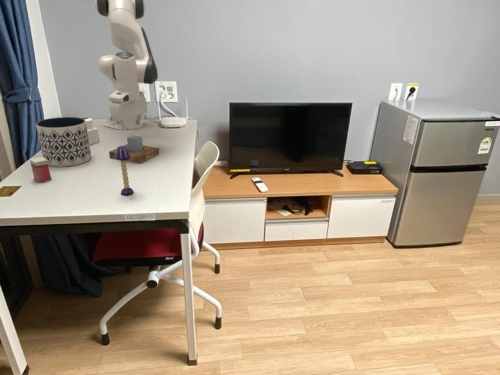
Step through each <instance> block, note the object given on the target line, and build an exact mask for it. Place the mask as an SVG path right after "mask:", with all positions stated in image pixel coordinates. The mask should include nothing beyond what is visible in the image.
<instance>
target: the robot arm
mask: <svg viewBox="0 0 500 375" xmlns="http://www.w3.org/2000/svg"><path fill="white" fill-rule="evenodd" d="M94 6H95V8H96V11H97V13H98V14H99V15H100V16H102V17H106V18H108V20H109V21H108V22H109V27H110V29H109V30H110V40H111V42H110V43H111V44H112V45H113V46H114V47H115V48H116V49H118V50H120V51H119V52H117V53H115V54H108V55H104V56H100V58H99V60H98V63H97V64H98V69H99V72H100V73H101V74H102V75H103V76H105V77H106V78H108V79H109V80H110V81H111V83H112V85H113V86H114V89H115V91H114V92H112V93H111V94H110V95H109V96H108V101H109V102H110V103H109V113H108V114H107V117H106V118H107V119H106V122H104V123H103V126H102V127H105V128H106V127H107V128H111V129H115V130H118V131H125V130H136V129H139V128H140V129H141V128H143V127H144V124H143V122H142V118H143V114H144V113H145V114H146V113H147V112H148V104H147V103H148V102H147V98H146V97H145V93H144V92H143V91H140V86H139V84H148V85H152V84H154V83H156V81H157V80H158V78H159V70H158V67H157V64H156V61H155V59H154V56H153V52H152V49H151V47H150V42H149V39H148V36H147V34H146V31H145V29H144V28H143V27H142V26H141V25H140V24H139V23H138V22H137V20H139V19H142V18H143V17H144V16H145V12H146V4H145V1H144V0H94ZM135 44H136V45H137V46H139V48H140V52H141V53H140V52H139V51H138V49H137V47H136V45H135Z"/></svg>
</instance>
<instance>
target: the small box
mask: <svg viewBox="0 0 500 375" xmlns="http://www.w3.org/2000/svg"><path fill="white" fill-rule="evenodd" d="M29 161H30V165H31V170H32V175H33V179H34V180H36V181H37V182H38V183H44V182H47V181H51V180H52V176H51V171H50V165H48V161H47V160H46V159H45V158H43V156H39V157H36V158H30V159H29Z"/></svg>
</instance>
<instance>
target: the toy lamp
mask: <svg viewBox="0 0 500 375" xmlns="http://www.w3.org/2000/svg"><path fill="white" fill-rule="evenodd" d="M116 149H117V151H116V159H115V160H117V161H120V166H121V175H122V181H123V188H122V189H121V191H120V195H122V196H124V197H126V196H131V195H133V194H134V193H135V192H134V189H133V188H131V187H130V184H129V183H130V181H129V175H128V173H129V172H128V168H127V161H126V160H128V159H130V154H129V152H128V149H127V147H126V146H124V145H119V146H117V147H116Z"/></svg>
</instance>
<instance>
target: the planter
mask: <svg viewBox="0 0 500 375" xmlns="http://www.w3.org/2000/svg"><path fill="white" fill-rule="evenodd" d="M82 118H83V117H75V116H62V117H61V116H58V117H52V118H45V119H41V120H39V121H37V122H35V127H36V131H37V132H36V133H37V135H38V136H37V137H38V140H39V142H38V143H39V145H40V150H41V155H42V157H43V158H45V159H46V160H47V161H48V166H49V167H50V166H51V167H55V168H56V167H60V168H61V167H62V168H63V167H71V166H72V167H73V166H78V165H81V164H84V163H87V162H88V161H89V160H90V159H91V158H92V152H91V145H89V138H88V132H87V126H86V121H85V120H84V119H82Z"/></svg>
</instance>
